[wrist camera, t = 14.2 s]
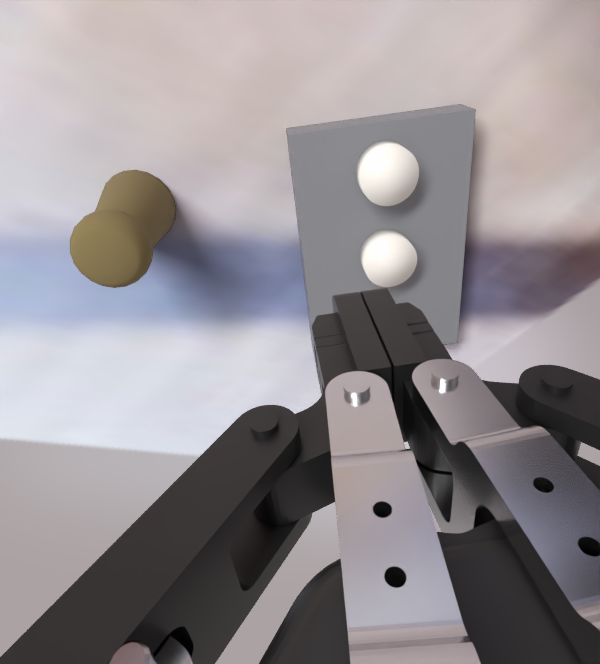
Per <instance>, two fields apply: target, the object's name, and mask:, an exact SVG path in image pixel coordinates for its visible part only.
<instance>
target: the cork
mask: <svg viewBox="0 0 600 664" xmlns="http://www.w3.org/2000/svg"><path fill="white" fill-rule="evenodd" d="M175 215H176V206H175V202H174V197H173V196H172V194H171V192H170V190H169V189H168V187H167V186H166V185H165V184H164V183H163V182H162V181H161V180H160V179H159V178H157V177H155V176H153V175H151V174H149V173H148V172H143V171H138V170H130V171H123V172H121V173H119V174H116V175H114V176H113V177H112V178H111V179H110V180H109V181H108V182H107V183H106V185H105V187H104V190H103V192H102V195H101V197H100V200H99V202H98V205H97V208H96V210H95V212H93V213H91V214H89V215H87V216H85V217H84V218H83V219H82V220H81V221H80V222H79V223H78V224H77V225H76V226H75V228H74V230H73V233H72V235H71V238H70V254H71V256H72V259H73V262H74V264H75V265H76V267H77V268H78V269H79V271H80V272H81V273H82V274H83V275H84V276H86V277H87V278H88V279H89V280H91V281H93V282H95V283H97V284H99V285H102V286H107V287H113V288H116V287H125V286H128V285H130V284H132V283H135V282H136V281H138V280H139V279H140V278H141V277H142V276H143V275H144V274H145V273H146V272H147V270H148V268H149V266H150V264H151V262H152V256H153V247H154V246H155V245H156V244H157V243H158V242H159V241H160V239H161V238H162V237H163V236H164V235H165V234H166V233H167V232H168V231H169V230H170V229H171V227H172V225H173V223H174V221H175Z"/></svg>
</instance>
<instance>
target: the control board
mask: <svg viewBox="0 0 600 664" xmlns="http://www.w3.org/2000/svg"><path fill="white" fill-rule="evenodd" d="M475 112H476V109H473V108H470V107H467V106H464V105H461V104H459V105H452V106H444V107H437V108H430V109H423V110H415V111H408V112H401V113H394V114H387V115H379V116H372V117H365V118H358V119H350V120H343V121H336V122H329V123H322V124H314V125H307V126H300V127H293V128H286V132H287V140H288V148H289V156H290V165H291V173H292V181H293V190H294V198H295V206H296V215H297V223H298V231H299V240H300V248H301V256H302V264H303V273H304V281H305V289H306V298H307V306H308V314H309V323H310V331H311V339H312V347H313V352H314V343H313V335H312V325H313V323H314V321H315V318H316V316H317V315H324V314H331V313H333V303H332V296H333V295H339V294H346V293H353V292H359V293H360V291H366V290H373V289H380V288H387V289H388V290H389V292H390V294H391V296H392V298H393V299H394V301H395V303H398V304H399V303H406V302H409V303H410V304H412V305H414V306H415V307H417V308H418V309H420V310H422V312H423V314H424V315H425V317H426V318H427V320H428V323H430V325H431V326H432V328H433V330H434V332H435V333H436V334H437V336H438V337H439V339H440V341H441V342H442V344H443V345H445V344H452V343H457V340H458V328H459V315H460V302H461V290H462V277H463V264H464V252H465V239H466V226H467V214H468V201H469V188H470V176H471V163H472V150H473V138H474V125H475ZM386 140H387V141H394V142H397V143H399V144H400V145H402V146H403V147H404V148H406V149H407V150H409V151H410V152H411V153H412V154H413V155H414V157H415V158H416V160H417V163H418V166H419V178H418V182H417V185H416V187H415V189H414V191H413V192H412V193H411V195H410V196H409V197H408V198H406V199H405V200H404V201H402V202H401V203H399V204H396V205H392V206H380V205H377V204H375V203H373V202H371V201H370V200H369V199H368V198H367V197H366V196H365V194H364V193H363V191H362V190H361V189H360V187H359V185H358V183H357V180H356V166H357V162H358V160H359V158H360V156H361V155H362V153H363V152H364V151H365V150H366V149H367V148H368V147H369V146H371V145H372V144H374V143H376V142H379V141H386ZM383 229H393V230H397V231H399V232H401V233H402V234H404V235H405V236H406V238H407V239H408V240H409V242H410V243H411V244H412V245H413V247H414V248H415V250H416V253H417V265H416V268H415V270H414V272H413V273H412V275H411V276H410V277H409V278H408V279H407V280H406V281H405V282H403V283H401V284H399V285H397V286H393V287H381V286H378V285H376V284H374V283H373V282H371V281H370V280H369V278H368V277H367V275H366V273H365V271H364V269H363V267H362V265H361V262H360V250H361V247H362V245H363V243H364V242H365V240H366V239H367V238H368V237H369V236H370V235H372V234H373V233H375V232H377V231H379V230H383ZM314 357H315V352H314ZM315 362H316V360H315Z"/></svg>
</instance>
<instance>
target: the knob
mask: <svg viewBox="0 0 600 664" xmlns="http://www.w3.org/2000/svg"><path fill="white" fill-rule="evenodd" d="M418 178H419V166H418V163H417V160H416V158H415V157H414V155H413V154H412V153H411V152H410V151H409V150H407V149H406V148H404V147H403V146H402V145H400V144H399V143H397V142H394V141H387V140H386V141H379V142H376V143H374V144H372V145H371V146H369V147H368V148H367V149H366V150H365V151H364V152H363V153H362V155H361V156H360V158H359V160H358V162H357V166H356V180H357V183H358V185H359V187H360V189H361V190H362V191H363V193H364V194H365V196H366V197H367V198H368V199H369V200H370V201H371V202H373V203H375V204H377V205H380V206H392V205H396V204H399V203H401V202H402V201H404V200H405V199H406V198H408V197H409V196H410V195H411V193H412V192H413V191H414V189H415V187H416V185H417V182H418Z"/></svg>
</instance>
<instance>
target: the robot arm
mask: <svg viewBox="0 0 600 664" xmlns="http://www.w3.org/2000/svg"><path fill="white" fill-rule="evenodd" d="M332 303H333V313H331V314H324V315H317V316H316V318H315V321H314V323H313V325H312V335H313V343H314V352H315V360H316V368H317V374H318V379H319V384H320V389H321V393H322V396H321V398H320V399H319V400H318V401H317V402H316V403H315V404H314V405H313V406H311V407H309V408H308V409H306V410H304V411H301V412H299V413H296V414H294V413H293V412H292V411H291V410H289V409H287V408H285V407H282V406H278V405H264V406H259V407H256V408H253V409H251V410H249V411H247V412H245V413H244V414H242V415H241V416H240V417H239V418H238V419H237V420H236V421H235V422H234V423H233V424H232V425H231V426H230V427H229V428H228V429H227V430H226V431H225V432H224V433H223V434H222V435H221V436H220V437H219V438H218V439H217V440H216V441H215V442H214V443H213V444H212V445H211V446H210V447H209V448H208V449H207V450H206V451H205V452H204V453H203V454H202V455H201V456H200V457H199V458H198V459H197V460H196V461H195V462H194V463H193V464H192V465H191V466H190V467H189V468H188V469H187V470H186V471H185V472H184V473H183V474H182V475H181V476H180V477H179V478H178V479H177V480H176V481H175V482H174V483H173V484H172V485H171V486H170V487H169V488H168V489H167V490H166V491H165V492H164V493H163V494H162V495H161V496H160V497H159V498H158V500H156V502H154V503H153V504H152V505H151V506H150V507H149V508H148V510H147V511H145V512H144V513H143V514H142V515H141V517H139V518H138V519H137V520H136V521H135V522H134V523H133V524H132V525H131V527H130V528H128V529H127V530H126V532H124V533H123V535H122V536H121V537H119V539H118V540H117V541H116V542H115V543H114V544H113V545H112V546H111V547H110V548H109V549H108V550H107V551H106V552H105V553H104V554H103V555H102V556H101V557H100V558H99V559H98V560H97V561H96V562H95V563H94V564H93V565H92V566H91V567H90V568H89V569H88V570H87V571H86V572H85V573H84V574H83V575H82V576H81V577H80V578H79V579H78V580H77V581H76V582H75V583H74V584H73V585H72V586H71V587H70V588H69V589H68V590H67V591H66V592H65V593H64V594H63V595H62V596H61V597H60V598H59V599H58V600H57V601H56V602H55V603H54V604H53V605H52V606H51V607H50V608H49V609H48V610H47V611H46V612H45V613H44V614H43V615H42V616H41V617H40V618H39V619H38V620H37V621H36V622H35V623H34V624H33V625H32V626H31V627H30V628H29V629H28V630H27V631H26V632H25V633H24V634H23V635H22V636H21V637H20V638H19V639H18V640H17V641H16V642H15V643H14V644H13V645H12V646H11V647H10V648H9V649H8V650H7V651H6V652H5V653H4V654H3V655H2V656H1V657H0V664H215V662H216V661H217V660H218V658H219V657H220V655H221V653H222V652H223V651H224V649H225V648H226V646H227V645H228V643H229V642H230V640H231V639H232V637H233V636H234V634H235V633H236V631H237V630H238V628H239V627H240V625H241V624H242V622H243V621H244V620H245V618H246V617H247V615H248V614H249V612H250V611H251V609H252V608H253V606H254V605H255V603H256V602H257V600H258V599H259V597H260V595H261V594H262V593H263V591H264V590H265V588H266V587H267V585H268V584H269V582H270V581H271V579H272V578H273V576H274V575H275V574H276V572H277V570H278V569H279V568H280V566H281V564H282V563H283V561H284V560H285V559H286V557H287V556H288V554H289V553H290V551H291V550H292V548H293V547H294V545H295V544H296V542H297V541H298V539H299V538H300V536H301V535H302V533H303V532H304V530H305V529H306V528H307V526H308V524H309V522H310V520H311V517H312V513H313V512H315V511H317V510H319V509H321V508H323V507H325V506H327V505H329V504H331V503H333V502H335V505H336V515H337V525H338V536H339V546H340V557H341V558H340V559H338V560H337V561H335V562H333V563H332V564H330V565H328V566H327V567H325V568H324V569H323V570H322V571H321V572H319V573H318V574H317V575H316V576H314V578H313V579H312V580H311V581H310V582H309V583H308V584H307V585H306V586H305V587H304V589H303V590H302V591H301V593H300V594H299V595H298V596H297V598H296V600H295V601H294V603H293V605H292V606H291V608H290V610H289V612H288V614H287V615H286V617H285V619H284V621H283V622H282V624H281V626H280V627H279V629H278V631H277V633H276V635H275V637H274V638H273V640H272V642H271V643H270V645H269V647H268V649H267V650H266V652H265V654H264V656H263V657H262V659H261V661H260V663H259V664H600V466H598V465H596V464H594V463H592V462H590V461H588V460H585V459H583V458H581V457H579V456H577V454H578V451H579V447H580V444H581V442H583V443H585V444H587V445H589V446H592V447H594V448H596V449H598V450H600V380H599V379H596V378H593V377H591V376H588V375H585V374H582V373H580V372H577V371H574V370H571V369H568V368H565V367H560V366H555V365H539V366H534V367H531V368H529V369H527V370H525V371H524V372H523V373H522V374H521V376H520V379H519V384H515V383H500V382H489V381H484V380H481V379H480V378H479V376H478V375H477V374H476V373H475V372H474V370H473V369H472V368H470V367H469V366H467V365H465V364H464V363H461V362H459V361H455V360H452V358H451V357H450V355H449V353H448V352H447V350H446V349H445V347H444V345H443V344H442V342H441V341H440V339H439V337H438V336H437V334H436V333H435V332H434V330H433V328H432V326H431V325H430V323H428V320H427V318H426V317H425V315H424V314H423V312H422V310H420V309H418V308H417V307H415V306H414V305H412V304H410V303H409V302H406V303H399V304H396V303H395V301H394V299H393V298H392V296H391V294H390V292H389V290H388V289H387V288H380V289H373V290H366V291H360V293H359V292H353V293H346V294H339V295H333V296H332ZM407 441H408V443H409V446H410V449H406V448H405V445H404V442H407ZM429 506H430V508H431V510H432V512H433V514H434V516H435V519H436V521H437V523H438V525H439V527H440V529H441V531H442V532H436V528H435V525H434V521H433V518H432V515H431V511H430V508H429Z"/></svg>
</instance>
